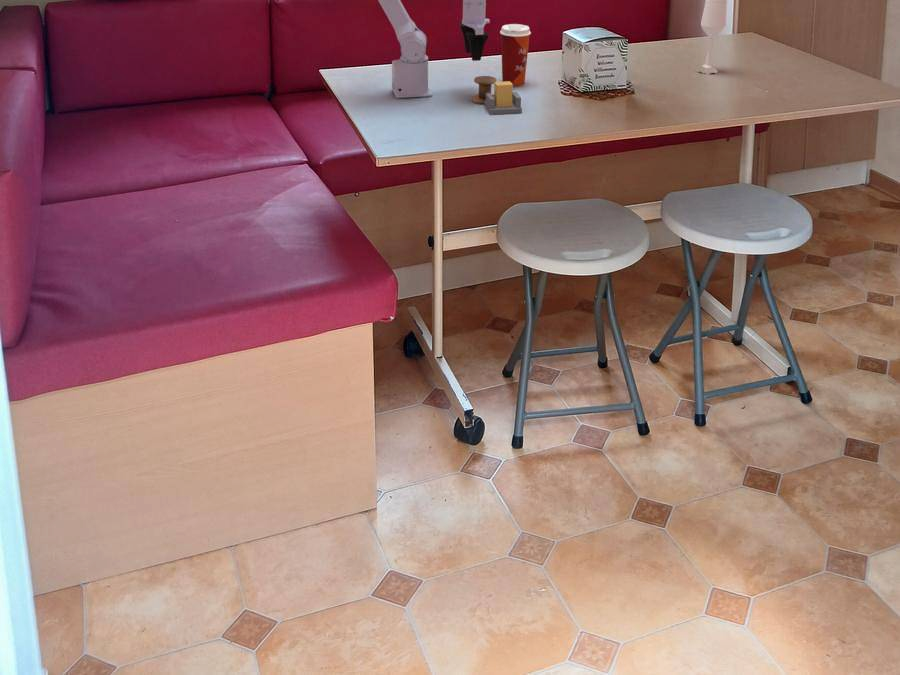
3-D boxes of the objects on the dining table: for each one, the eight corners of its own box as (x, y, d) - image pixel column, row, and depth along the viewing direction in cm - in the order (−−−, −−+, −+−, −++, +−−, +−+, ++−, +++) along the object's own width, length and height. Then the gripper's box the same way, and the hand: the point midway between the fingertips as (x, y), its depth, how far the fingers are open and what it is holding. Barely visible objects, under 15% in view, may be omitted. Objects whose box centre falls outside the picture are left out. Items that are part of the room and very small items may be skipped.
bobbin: (474, 105, 265) (474, 83, 262) (468, 97, 271) (469, 75, 268) (500, 103, 266) (501, 82, 263) (494, 95, 272) (495, 74, 269)
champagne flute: (695, 73, 292) (706, -15, 279) (694, 67, 297) (705, -20, 285) (719, 75, 291) (732, -14, 278) (718, 68, 296) (730, -19, 284)
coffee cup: (526, 88, 278) (529, 31, 270) (496, 86, 279) (497, 30, 272) (530, 79, 285) (533, 24, 278) (500, 77, 286) (502, 22, 279)
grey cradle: (490, 114, 259) (490, 100, 257) (484, 106, 265) (484, 92, 263) (521, 113, 260) (522, 99, 258) (515, 104, 266) (515, 90, 264)
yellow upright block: (496, 107, 260) (497, 85, 257) (493, 103, 263) (494, 81, 260) (511, 106, 261) (512, 84, 258) (509, 102, 263) (510, 81, 260)
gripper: (496, 8, 256) (494, 63, 263) (483, -5, 268) (482, 48, 275) (468, 9, 255) (467, 64, 262) (457, -4, 267) (456, 49, 274)
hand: (473, 56), depth 268 cm, fingers open, 7 cm apart
